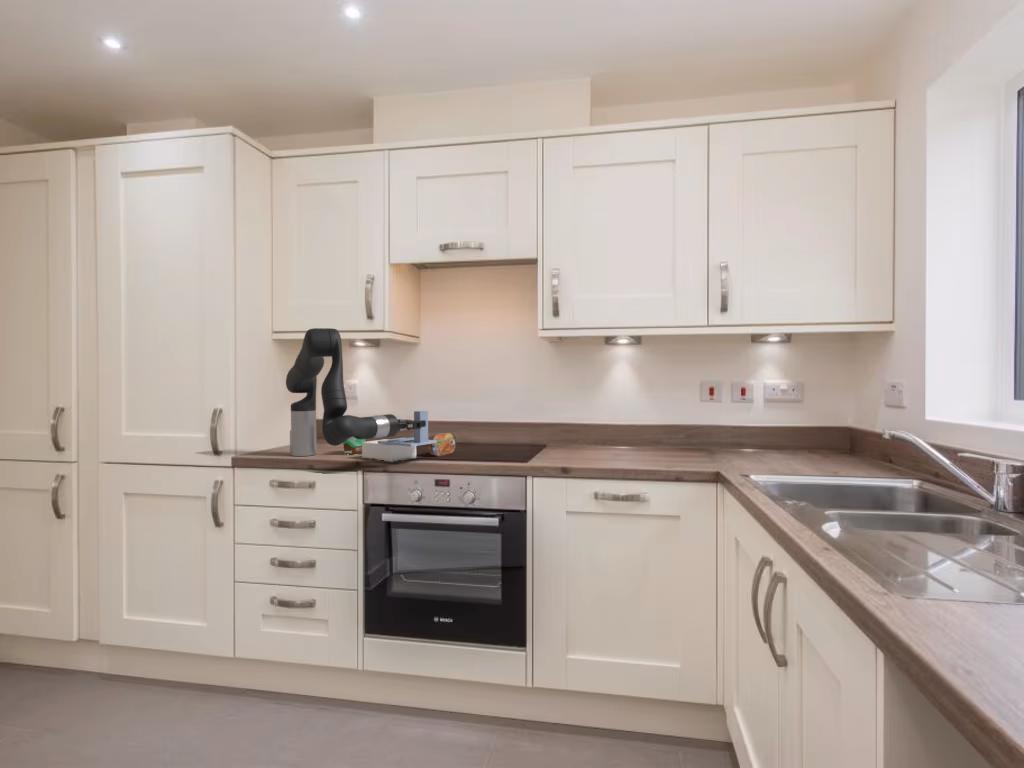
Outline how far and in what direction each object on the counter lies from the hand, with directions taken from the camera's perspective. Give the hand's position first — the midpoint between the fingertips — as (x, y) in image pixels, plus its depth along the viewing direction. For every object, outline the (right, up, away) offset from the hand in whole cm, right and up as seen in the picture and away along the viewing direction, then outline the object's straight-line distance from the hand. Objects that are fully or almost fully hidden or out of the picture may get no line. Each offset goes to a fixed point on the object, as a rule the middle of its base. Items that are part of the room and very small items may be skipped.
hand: (416, 422), depth 195 cm
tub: (-12, -14, +12) cm, 22 cm away
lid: (-4, -8, +6) cm, 11 cm away
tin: (+7, -14, +21) cm, 26 cm away
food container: (-27, -14, +23) cm, 38 cm away
